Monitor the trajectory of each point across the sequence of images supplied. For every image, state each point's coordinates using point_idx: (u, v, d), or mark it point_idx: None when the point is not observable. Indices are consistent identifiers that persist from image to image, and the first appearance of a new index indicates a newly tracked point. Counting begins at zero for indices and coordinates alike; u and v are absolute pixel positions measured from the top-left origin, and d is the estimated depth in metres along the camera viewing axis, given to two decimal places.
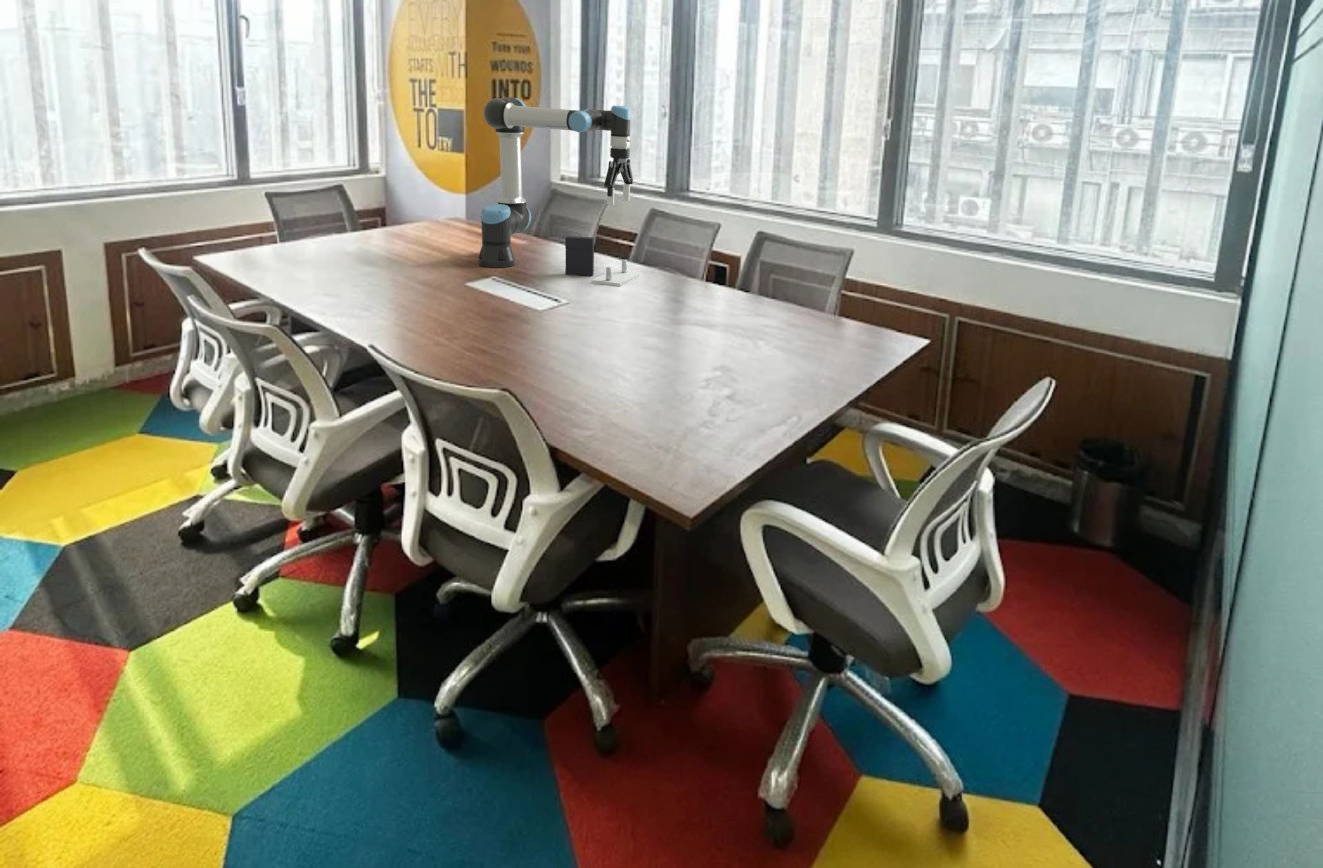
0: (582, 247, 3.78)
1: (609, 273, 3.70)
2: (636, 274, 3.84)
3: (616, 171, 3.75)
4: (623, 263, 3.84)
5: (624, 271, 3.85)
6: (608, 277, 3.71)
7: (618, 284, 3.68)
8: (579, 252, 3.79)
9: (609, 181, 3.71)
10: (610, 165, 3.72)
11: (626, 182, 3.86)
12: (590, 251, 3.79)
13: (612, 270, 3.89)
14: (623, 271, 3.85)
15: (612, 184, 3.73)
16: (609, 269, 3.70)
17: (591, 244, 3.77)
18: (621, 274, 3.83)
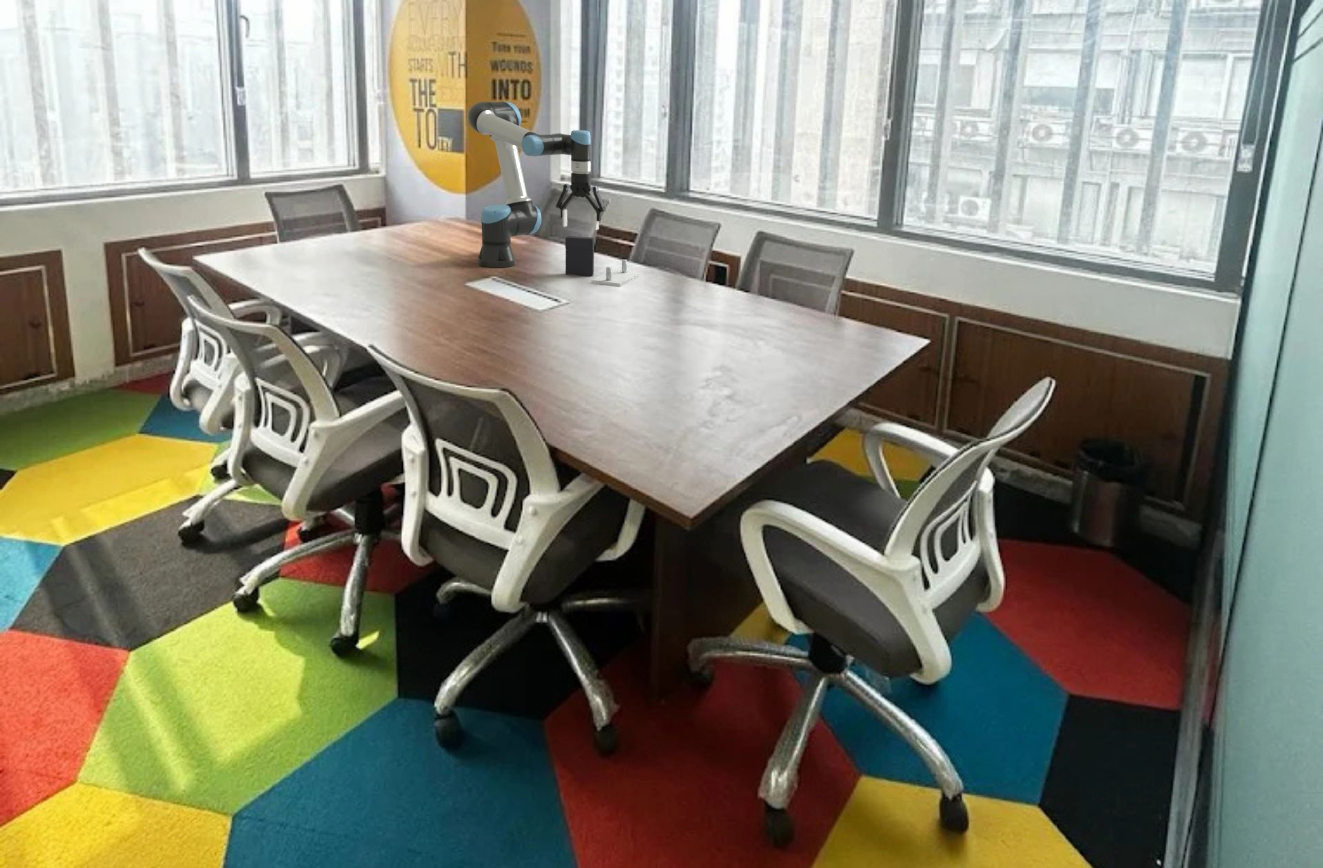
0: (582, 247, 3.78)
1: (609, 273, 3.70)
2: (636, 274, 3.84)
3: None
4: (623, 263, 3.84)
5: (624, 271, 3.85)
6: (608, 277, 3.71)
7: (618, 284, 3.68)
8: (579, 252, 3.79)
9: None
10: None
11: None
12: (590, 251, 3.79)
13: (612, 270, 3.89)
14: (623, 271, 3.85)
15: (561, 206, 3.76)
16: (609, 269, 3.70)
17: (591, 244, 3.77)
18: (621, 274, 3.83)
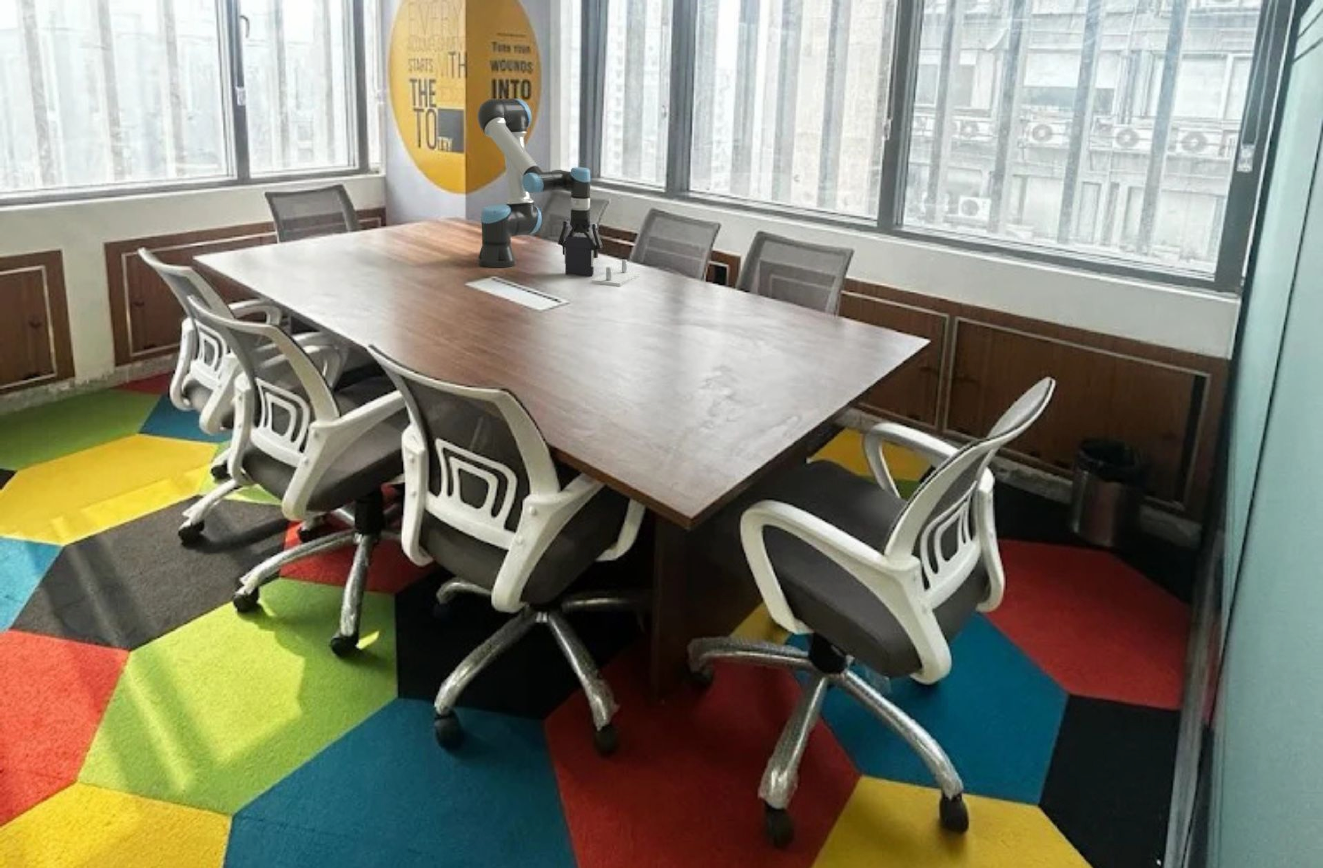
0: (582, 247, 3.78)
1: (609, 273, 3.70)
2: (636, 274, 3.84)
3: None
4: (623, 263, 3.84)
5: (624, 271, 3.85)
6: (608, 277, 3.71)
7: (618, 284, 3.68)
8: (579, 252, 3.79)
9: None
10: None
11: None
12: (590, 251, 3.79)
13: (612, 270, 3.89)
14: (623, 271, 3.85)
15: (563, 243, 3.81)
16: (609, 269, 3.70)
17: None
18: (621, 274, 3.83)
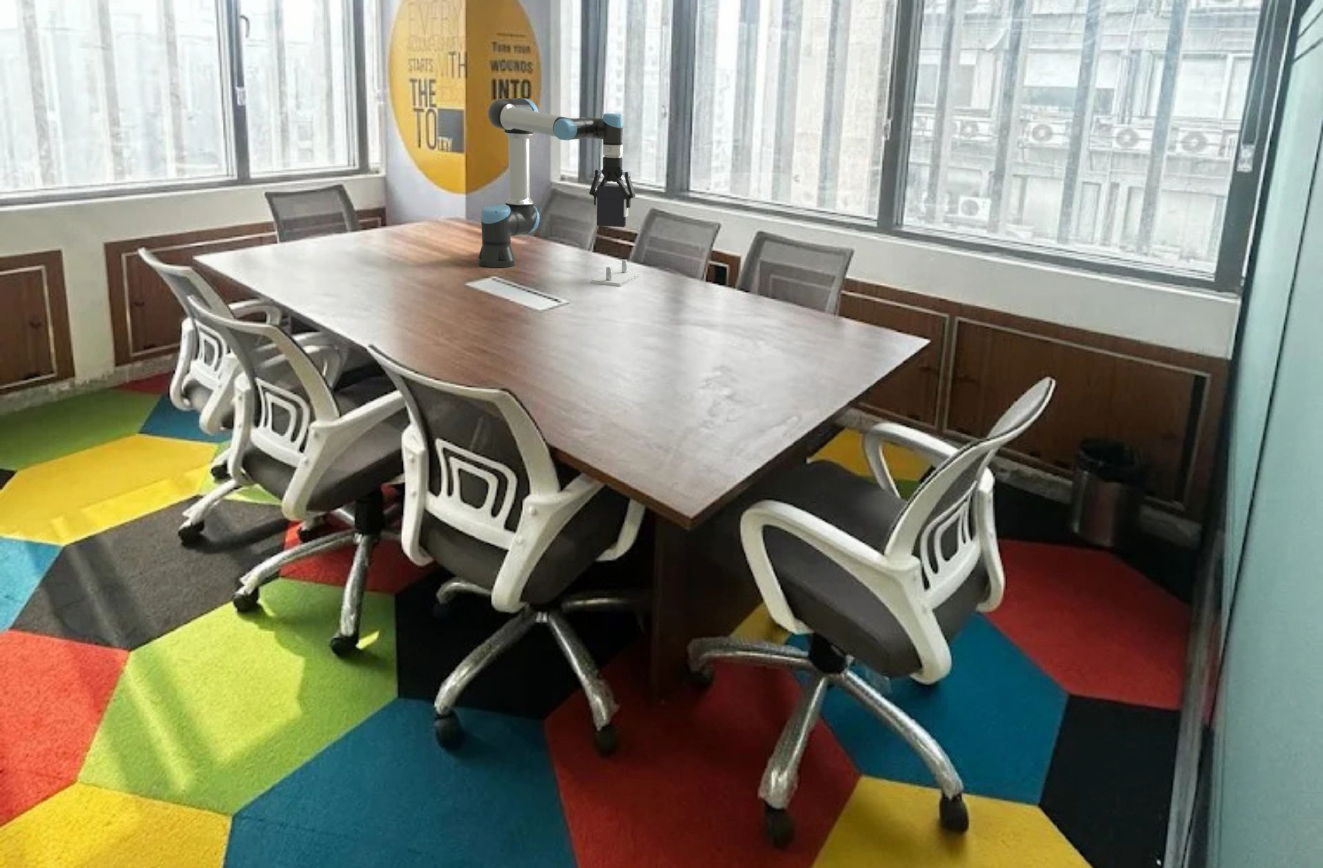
0: (614, 196, 3.66)
1: (609, 273, 3.70)
2: (636, 274, 3.84)
3: None
4: (623, 263, 3.84)
5: (624, 271, 3.85)
6: (608, 277, 3.71)
7: (618, 284, 3.68)
8: (611, 202, 3.68)
9: None
10: None
11: None
12: (623, 201, 3.67)
13: (612, 270, 3.89)
14: (623, 271, 3.85)
15: (594, 193, 3.69)
16: (609, 269, 3.70)
17: None
18: (621, 274, 3.83)
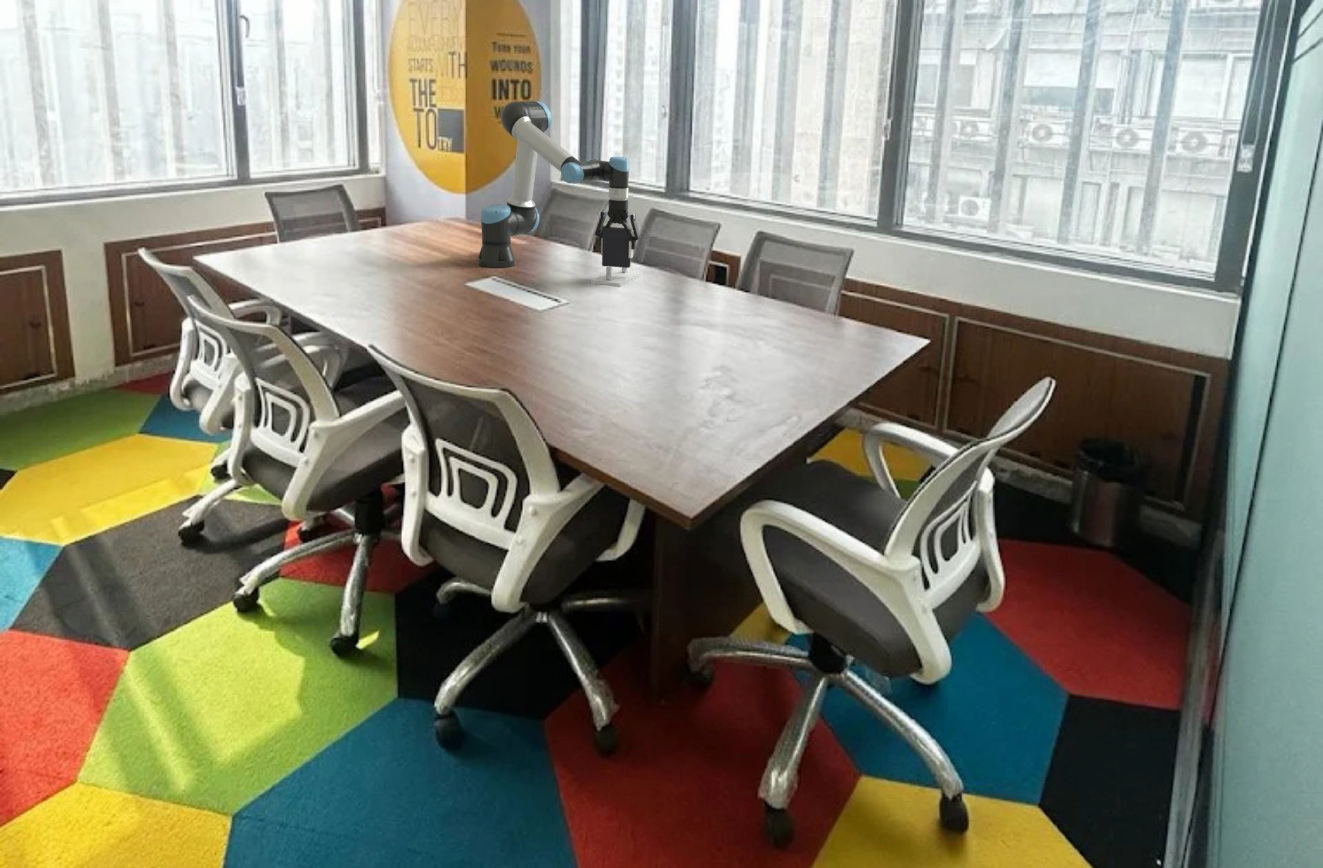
0: (619, 238, 3.71)
1: (609, 273, 3.70)
2: (636, 274, 3.84)
3: (608, 222, 3.72)
4: None
5: (624, 271, 3.85)
6: (608, 277, 3.71)
7: (618, 284, 3.68)
8: (616, 243, 3.73)
9: None
10: None
11: None
12: (628, 242, 3.72)
13: (612, 270, 3.89)
14: (623, 271, 3.85)
15: (600, 234, 3.74)
16: (609, 269, 3.70)
17: None
18: (621, 274, 3.83)
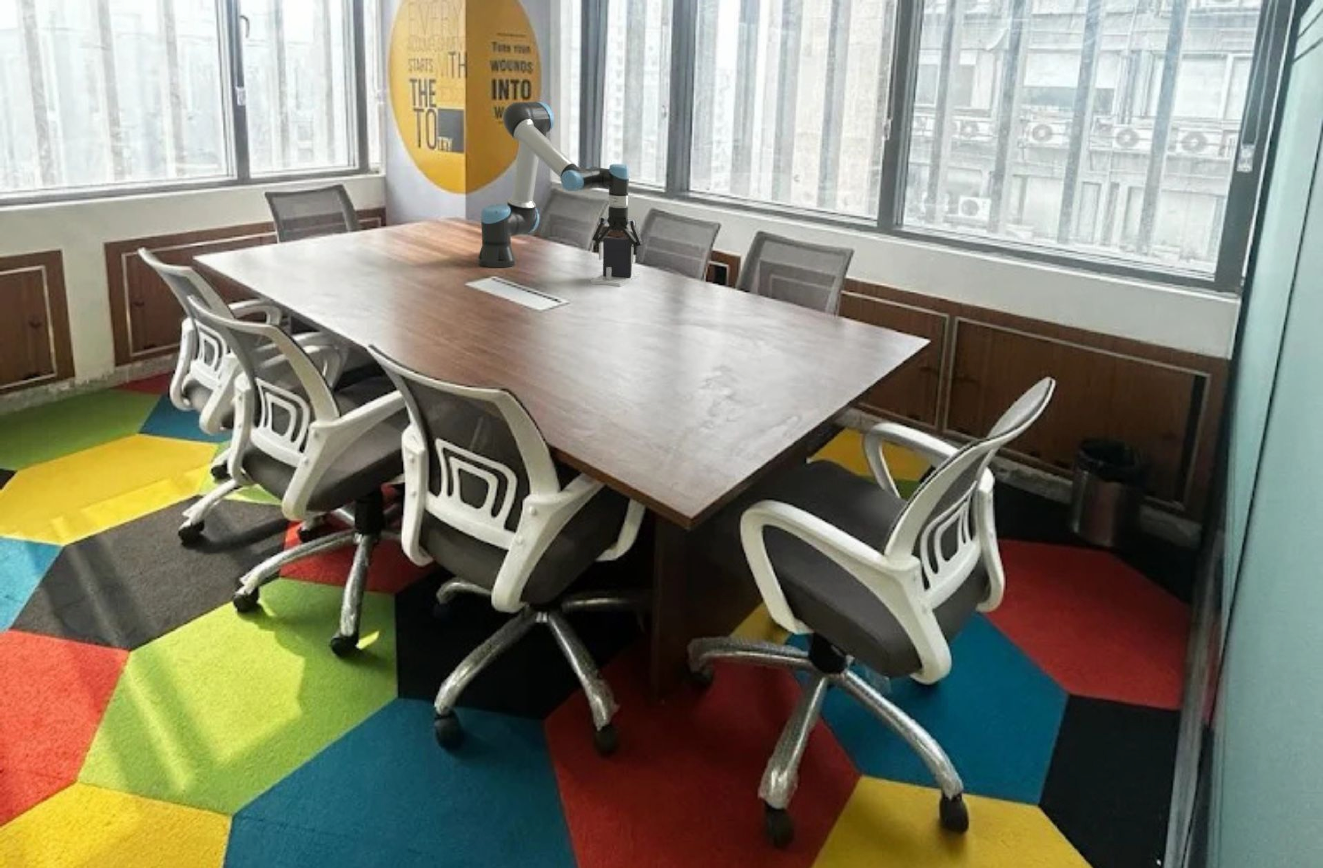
0: (620, 248, 3.72)
1: (609, 273, 3.70)
2: (636, 274, 3.84)
3: (607, 228, 3.73)
4: None
5: None
6: (608, 277, 3.71)
7: (618, 284, 3.68)
8: (617, 253, 3.74)
9: None
10: None
11: None
12: (628, 253, 3.73)
13: None
14: None
15: (597, 239, 3.75)
16: (609, 269, 3.70)
17: (629, 245, 3.72)
18: None
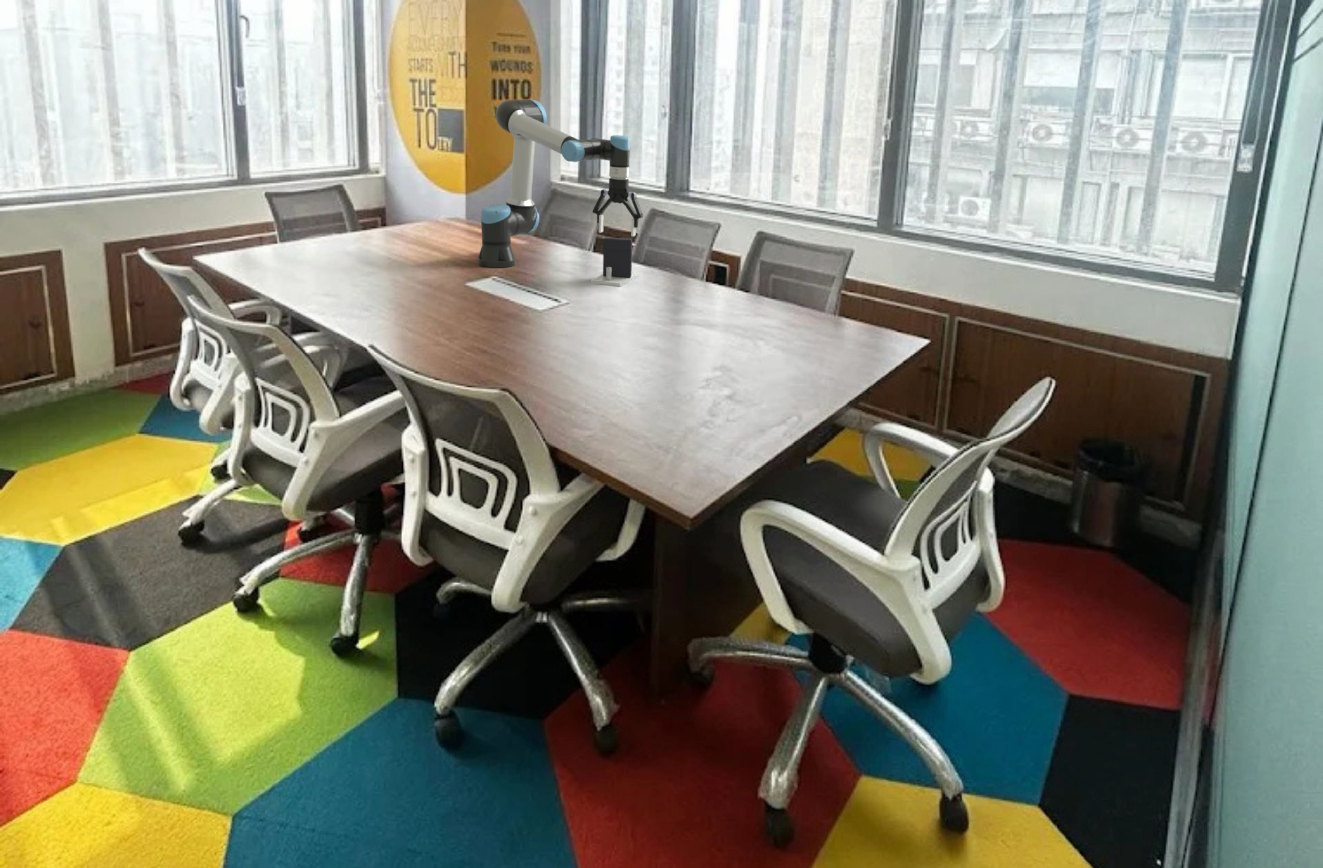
0: (620, 248, 3.72)
1: (609, 273, 3.70)
2: (636, 274, 3.84)
3: None
4: None
5: None
6: (608, 277, 3.71)
7: (618, 284, 3.68)
8: (617, 253, 3.74)
9: None
10: None
11: None
12: (628, 253, 3.73)
13: None
14: None
15: (597, 211, 3.71)
16: (609, 269, 3.70)
17: (629, 245, 3.72)
18: None
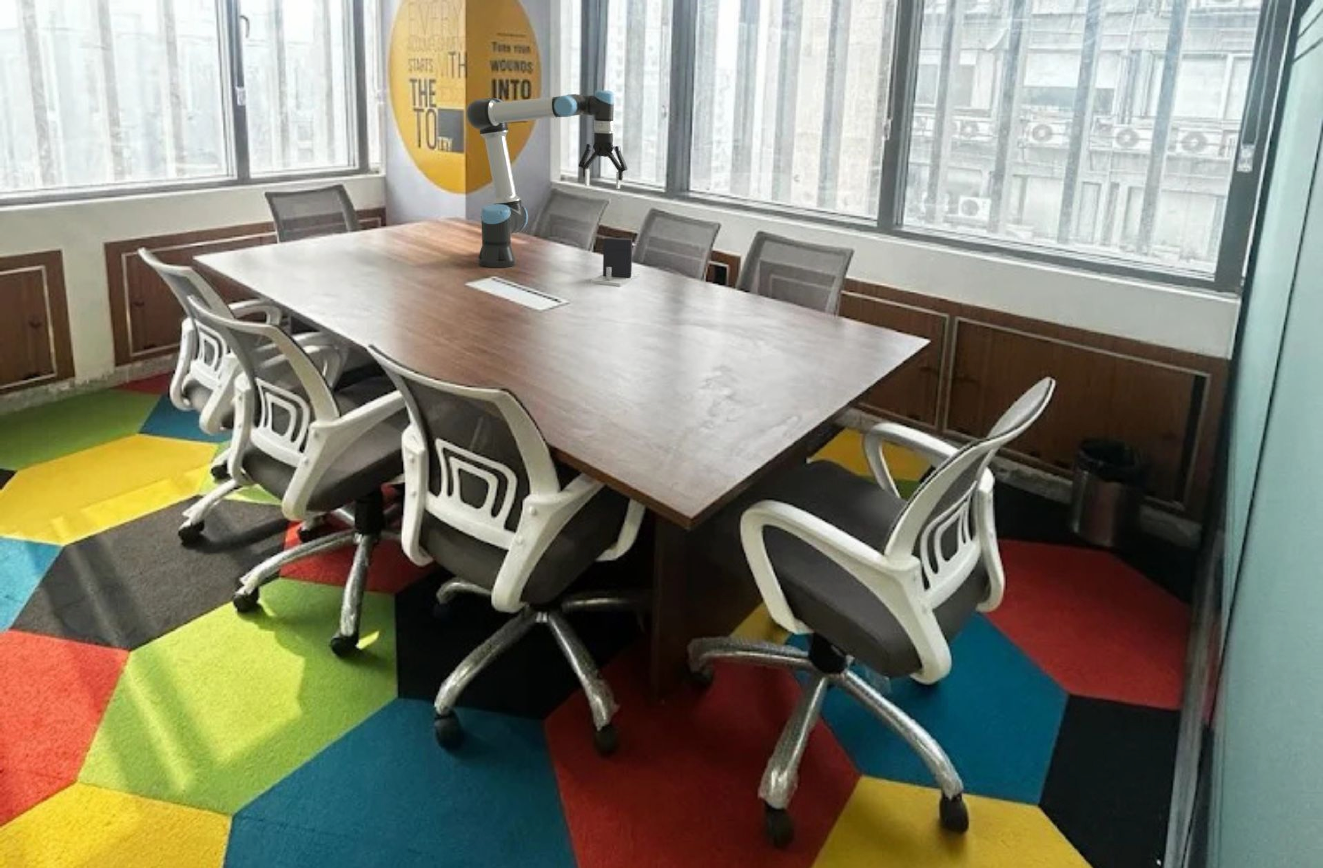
0: (620, 248, 3.72)
1: (609, 273, 3.70)
2: (636, 274, 3.84)
3: (593, 154, 3.82)
4: None
5: None
6: (608, 277, 3.71)
7: (618, 284, 3.68)
8: (617, 253, 3.74)
9: None
10: None
11: None
12: (628, 253, 3.73)
13: None
14: None
15: (583, 165, 3.85)
16: (609, 269, 3.70)
17: (629, 245, 3.72)
18: None
